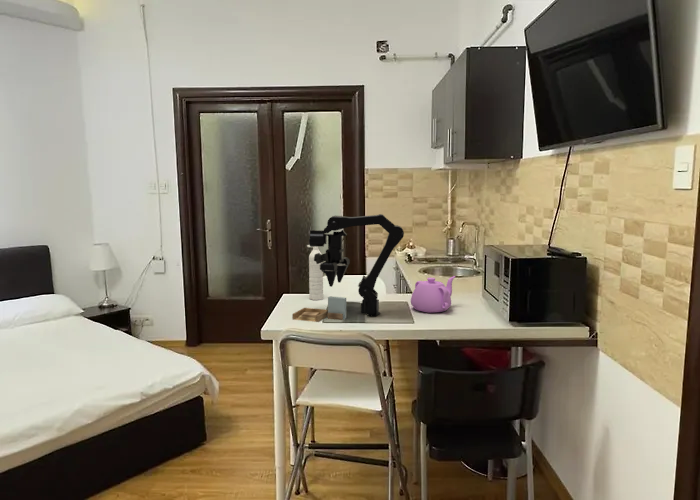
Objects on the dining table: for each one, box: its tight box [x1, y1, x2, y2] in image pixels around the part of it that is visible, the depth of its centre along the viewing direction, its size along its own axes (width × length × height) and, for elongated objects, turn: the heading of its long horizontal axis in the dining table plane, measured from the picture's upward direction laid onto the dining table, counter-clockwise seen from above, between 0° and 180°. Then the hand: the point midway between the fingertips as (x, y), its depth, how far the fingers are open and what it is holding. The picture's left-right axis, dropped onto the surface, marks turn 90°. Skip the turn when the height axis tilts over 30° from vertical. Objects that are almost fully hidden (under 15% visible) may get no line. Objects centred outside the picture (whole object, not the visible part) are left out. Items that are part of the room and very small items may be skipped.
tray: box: [292, 307, 328, 323], centre depth 208 cm, size 11×11×3 cm
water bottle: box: [306, 244, 324, 301], centre depth 244 cm, size 9×6×25 cm
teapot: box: [410, 275, 456, 314], centre depth 224 cm, size 22×22×14 cm
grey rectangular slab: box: [327, 296, 347, 320], centre depth 207 cm, size 7×2×9 cm, turn 71°
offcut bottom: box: [299, 316, 316, 320], centre depth 206 cm, size 7×5×1 cm
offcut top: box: [301, 312, 319, 318], centre depth 206 cm, size 6×4×1 cm
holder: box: [327, 310, 348, 321], centre depth 207 cm, size 6×5×3 cm
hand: (335, 284), depth 214 cm, fingers open, 9 cm apart
